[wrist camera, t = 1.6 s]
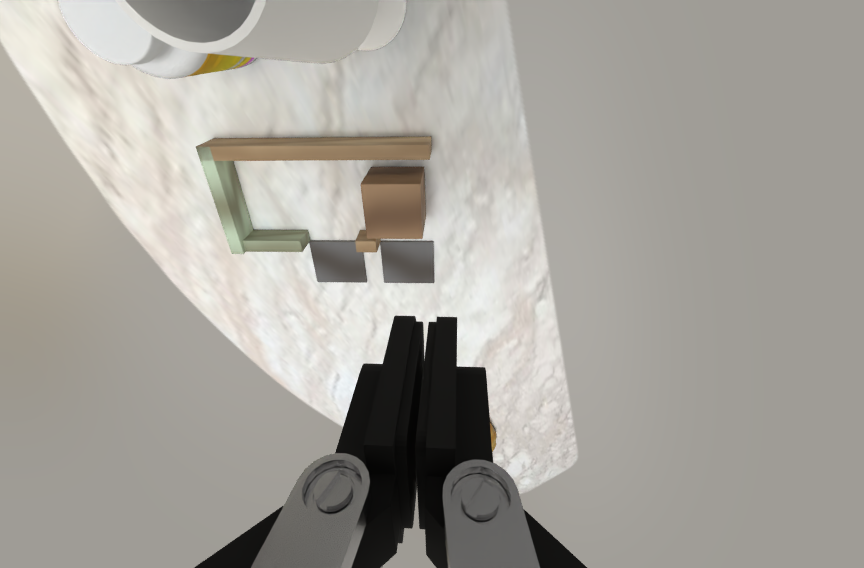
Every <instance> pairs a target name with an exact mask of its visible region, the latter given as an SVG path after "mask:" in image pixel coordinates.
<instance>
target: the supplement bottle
mask: <svg viewBox="0 0 864 568" xmlns="http://www.w3.org/2000/svg"><path fill="white" fill-rule="evenodd" d="M58 4H59V7H60V10H61V13H62V15H63V17H64V19H65V21H66V23H67V25H68V26H69V28H70V30H71V31H72V32H73V34H74V35H75V36H76V38H77V39H78V40H79V41H80V42H81V43H82V44H83V45H84V46H85V47H86V48H87V49H88V50H90V51H91V52H92V53H94V54H95V55H97V56H98V57H100V58H102V59H104V60H106V61H108V62H111V63H114V64H119V65H131V66H133V67H134V68H136V69H138V70H140V71H142V72H144V73H146V74H149V75H151V76H155V77H159V78H166V79H174V78H182V77H187V76H193V75H199V74H205V73H211V72H217V71H223V70H230V69H236V68H240V67H244V66H246V65H248V64H250V63H252V62H253V61H254V60H255V59H256V58H252V57H241V56H230V55H219V54H208V53H198V52H189V51H186V50H182V49H179V48H176V47H173V46H171V45H169V44H167V43H165V42H163V41H161V40H159V39H157V38H155V37H154V36H153V35H151V34H150V33H149V32H147V31H146V30H144V29H143V28H142V27H140V26H139V25H138V24H137V23H136V22H135V21H134V20H133V19H132V18H131V17H130V16H129V15H128V14H127V13H126V12H124V11H123V10H122V8H121V7H120V6H119V5H118V3H117V2H116V1H115V0H58Z"/></svg>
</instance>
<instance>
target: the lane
mask: <svg viewBox="0 0 864 568" xmlns="http://www.w3.org/2000/svg"><path fill="white" fill-rule="evenodd" d="M196 149H197V152H198V155H199V158H200V161H201V164H202V167H203V170H204V173H205V176H206V179H207V182H208V184H209V187H210V190H211V193H212V196H213V199H214V202H215V205H216V208H217V211H218V214H219V217H220V220H221V223H222V226H223V229H224V232H225V235H226V238H227V241H228V244H229V247H230V250H231V252H232V254H244V253H245V252H246V251H248V252H303V250H304V249H305V247H306V246H307V244H308V243H310V248H311V253H312V258H313V262H314V267H315V272H316V276H317V281H318V282H367V278H366V270H365V262H364V255H363V252H377V250H378V247H379V244H380V245H381V255H382V265H383V275H384V283H434V255H433V241H381V240H380V239H375V238H367V233H366V230H360V232H359V234H358V236H357V239H356V241H310V238H309V233H308V230H253V227H252V224H251V220H250V217H249V213H248V210H247V207H246V203H245V200H244V196H243V193H242V190H241V186H240V183H239V179H238V176H237V173H236V169H235V166H234V162H233V161H275V160H430V155H431V137H323V138H214V139H212V140H209V141H207V142H205V143H203V144H201V145H198V146H196Z"/></svg>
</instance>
